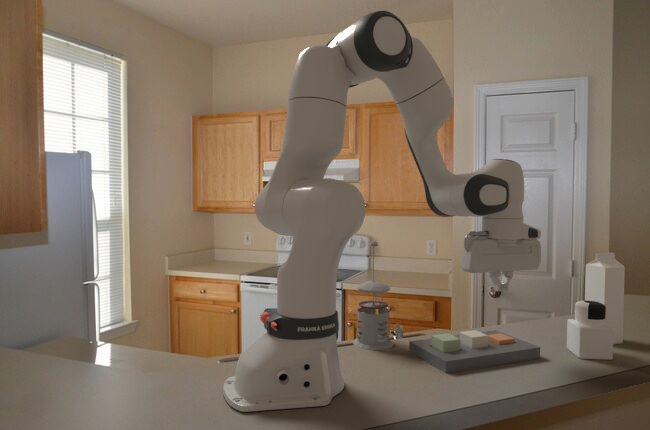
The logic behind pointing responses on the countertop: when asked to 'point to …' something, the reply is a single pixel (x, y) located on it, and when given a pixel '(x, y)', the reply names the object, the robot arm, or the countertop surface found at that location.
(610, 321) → the milk
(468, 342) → the cream button
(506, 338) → the terracotta button
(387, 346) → the french press
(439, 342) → the sage button
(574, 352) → the medicine bottle
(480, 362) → the button panel
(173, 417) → the countertop surface
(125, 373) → the countertop surface
